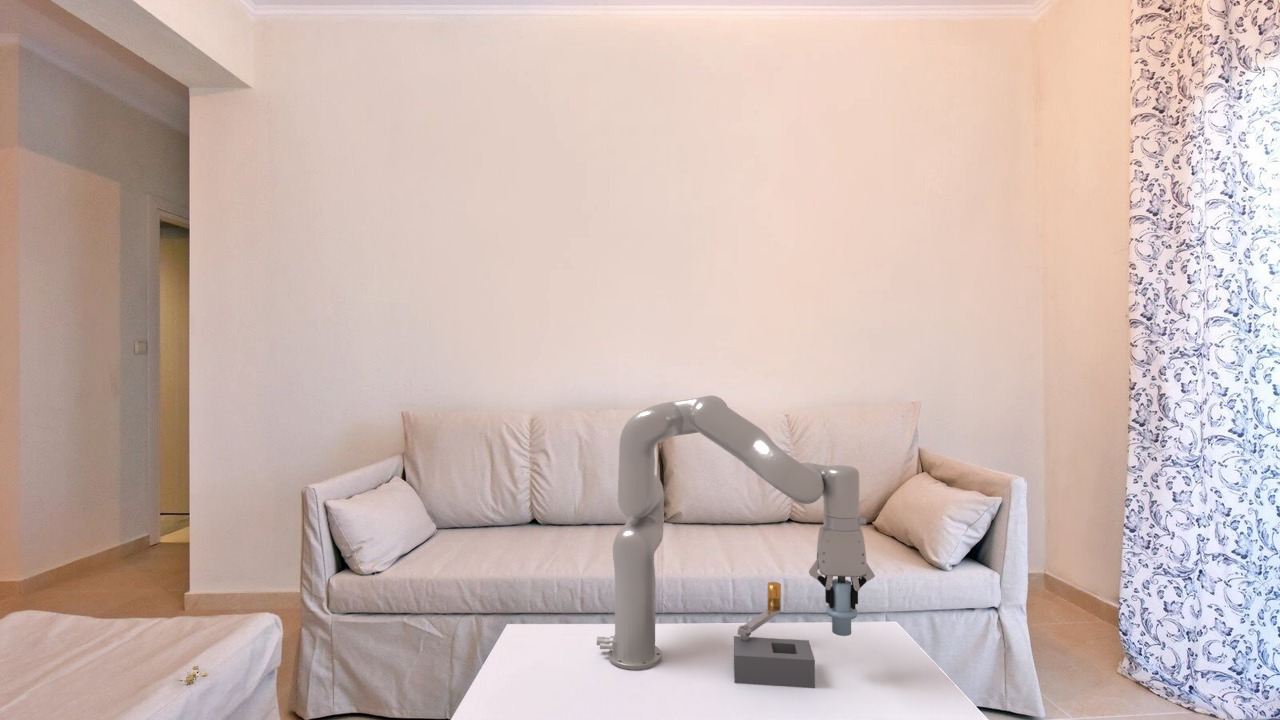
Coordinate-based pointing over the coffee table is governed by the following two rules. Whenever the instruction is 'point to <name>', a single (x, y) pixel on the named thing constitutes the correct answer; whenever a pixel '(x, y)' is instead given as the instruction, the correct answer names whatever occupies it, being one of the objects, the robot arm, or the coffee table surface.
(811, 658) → the socket block
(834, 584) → the plug
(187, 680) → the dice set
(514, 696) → the coffee table surface
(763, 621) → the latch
